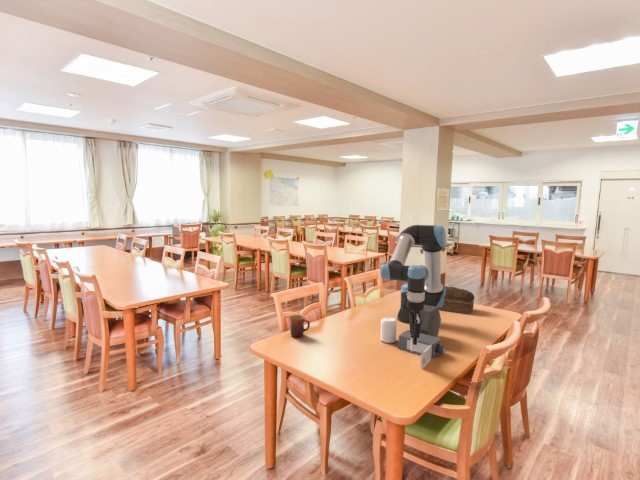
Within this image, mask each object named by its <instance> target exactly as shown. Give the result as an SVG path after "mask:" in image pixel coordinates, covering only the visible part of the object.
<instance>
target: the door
mask: <svg viewBox="0 0 640 480" xmlns="http://www.w3.org/2000/svg"><path fill="white" fill-rule="evenodd" d="M431 359H433V358H432V344H430V346H429V347H428V348H427V349H426V350H425V351H424V352H423V353H422V354H421V355H420V364H419V365H420V366H419V367H420V368H422V369H423V368H424V366H426V365H427V363H428V362H429V361H430V360H431Z"/></svg>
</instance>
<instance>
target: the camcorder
mask: <svg viewBox="0 0 640 480" xmlns="http://www.w3.org/2000/svg"><path fill="white" fill-rule="evenodd" d="M411 336H412V335H411V333H410V329H407V330H405V331H403V332H402V333H400V334H398V347H397V348H398V349H399V350H401V351H405V352H409V353H412V354H415V355H420V356H421V354H422V353H423V352H424V351H425V350H426V349H427V348H428V347H429V346H430V344H432V358H431V359H434V358H436V357H437V356H438V355H439V354H440V355H444V354H445V352H446V345H445V344H442V338H441V337H439V336H438V337H434V336H430V335H426V334H422V333H420V336H419V338H418V345H417V351H411Z"/></svg>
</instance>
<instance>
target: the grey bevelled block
mask: <svg viewBox="0 0 640 480" xmlns="http://www.w3.org/2000/svg"><path fill="white" fill-rule="evenodd" d="M420 314H421V317H420V319H421V320H422V322H421V327H420V333H422V334H426V335H430V336H434V337H438V338H439V332H440V327H441V321H442V317H441V313H440V310H439V309H438V307H434V306H429V305H424V309H423V310H421V311H420Z"/></svg>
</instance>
